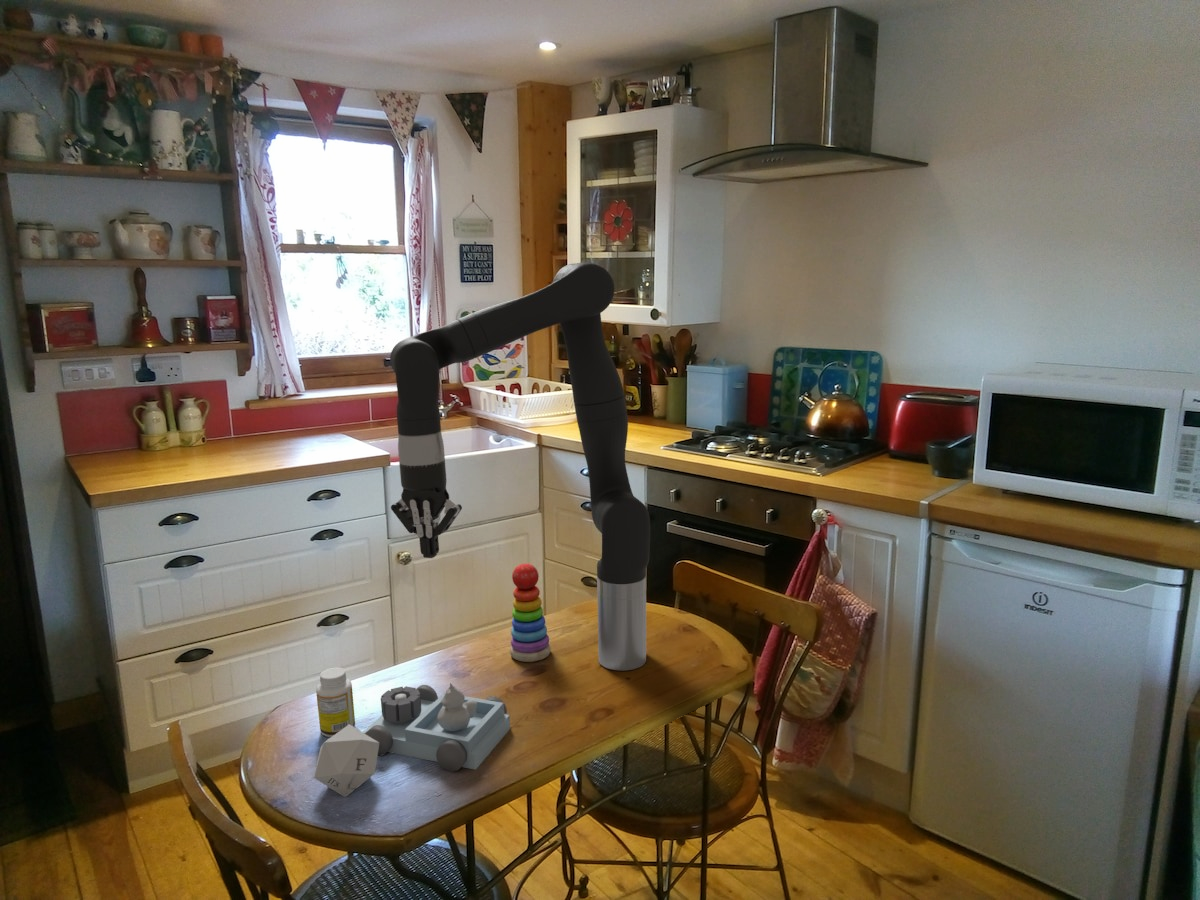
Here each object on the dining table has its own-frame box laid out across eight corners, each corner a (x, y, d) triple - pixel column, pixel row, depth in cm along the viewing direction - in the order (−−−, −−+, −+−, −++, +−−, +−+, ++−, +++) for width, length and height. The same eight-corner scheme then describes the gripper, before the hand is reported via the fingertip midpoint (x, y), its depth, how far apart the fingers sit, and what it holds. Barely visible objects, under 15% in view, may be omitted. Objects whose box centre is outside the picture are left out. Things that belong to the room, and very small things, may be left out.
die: (308, 809, 116) (337, 768, 112) (301, 752, 122) (329, 711, 118) (364, 806, 121) (394, 767, 117) (355, 752, 127) (383, 713, 123)
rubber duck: (432, 725, 131) (429, 679, 129) (471, 713, 134) (469, 668, 133) (444, 741, 126) (441, 693, 125) (484, 728, 130) (482, 682, 128)
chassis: (409, 705, 142) (407, 672, 141) (514, 723, 136) (512, 689, 134) (356, 752, 128) (353, 716, 127) (470, 775, 122) (468, 738, 120)
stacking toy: (532, 642, 166) (529, 554, 162) (559, 654, 161) (556, 563, 157) (501, 655, 161) (498, 564, 157) (528, 667, 155) (525, 574, 151)
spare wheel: (396, 701, 137) (395, 684, 137) (427, 706, 135) (426, 689, 135) (375, 718, 132) (374, 701, 131) (407, 725, 130) (406, 707, 129)
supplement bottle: (336, 718, 138) (331, 662, 136) (362, 724, 136) (357, 668, 134) (312, 735, 133) (307, 677, 131) (339, 742, 131) (334, 683, 129)
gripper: (467, 455, 139) (474, 552, 142) (399, 452, 143) (408, 547, 147) (446, 465, 132) (454, 567, 135) (375, 462, 136) (384, 561, 140)
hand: (430, 556), depth 141 cm, fingers closed
